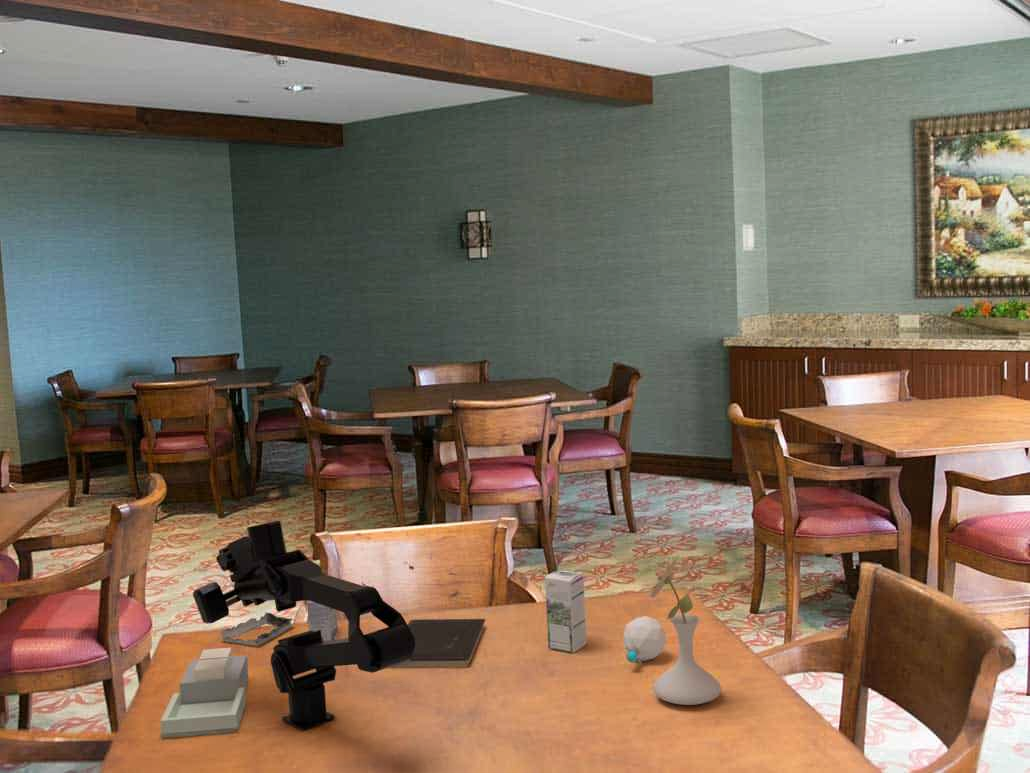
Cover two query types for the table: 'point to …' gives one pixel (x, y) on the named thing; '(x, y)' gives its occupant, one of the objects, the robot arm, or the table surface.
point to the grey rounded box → (214, 683)
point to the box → (202, 717)
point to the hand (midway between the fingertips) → (224, 588)
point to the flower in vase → (683, 656)
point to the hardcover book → (443, 642)
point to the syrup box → (565, 611)
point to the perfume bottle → (643, 639)
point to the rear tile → (217, 654)
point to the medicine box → (322, 620)
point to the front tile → (211, 669)
